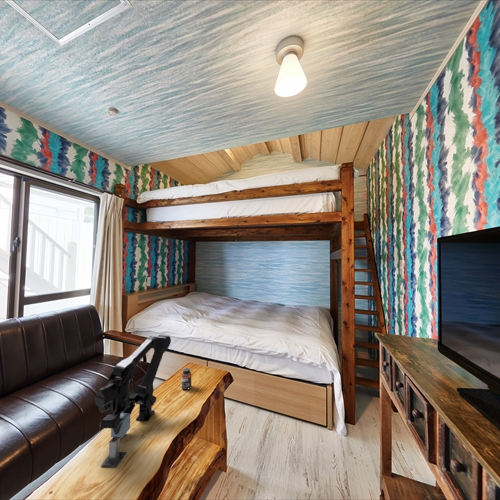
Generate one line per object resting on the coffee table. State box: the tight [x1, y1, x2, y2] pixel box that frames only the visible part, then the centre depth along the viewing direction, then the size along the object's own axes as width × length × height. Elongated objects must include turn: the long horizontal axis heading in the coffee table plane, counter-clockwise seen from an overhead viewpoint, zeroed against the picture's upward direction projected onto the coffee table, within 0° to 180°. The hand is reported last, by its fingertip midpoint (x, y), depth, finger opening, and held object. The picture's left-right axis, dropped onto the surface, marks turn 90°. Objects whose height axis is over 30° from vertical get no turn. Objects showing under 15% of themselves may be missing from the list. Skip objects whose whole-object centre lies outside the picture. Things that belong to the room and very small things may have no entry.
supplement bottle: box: [181, 367, 192, 390], centre depth 131 cm, size 6×6×11 cm
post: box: [100, 437, 127, 469], centre depth 83 cm, size 6×6×8 cm
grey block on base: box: [110, 413, 131, 439], centre depth 94 cm, size 5×5×7 cm
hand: (120, 429), depth 94 cm, fingers closed on grey block on base, 5 cm apart
